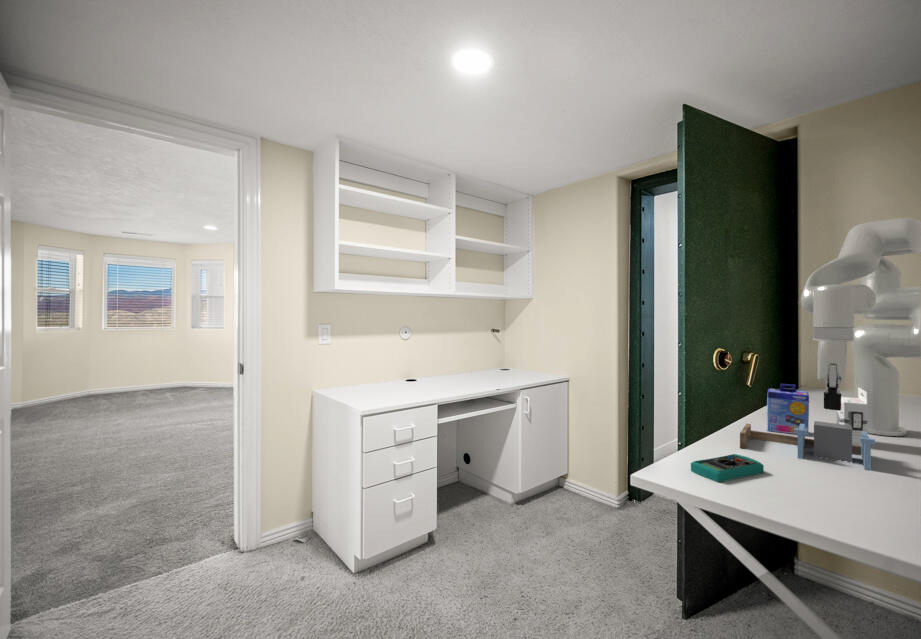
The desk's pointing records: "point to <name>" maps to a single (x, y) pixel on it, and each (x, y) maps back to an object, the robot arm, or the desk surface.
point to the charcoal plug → (833, 441)
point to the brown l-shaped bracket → (778, 439)
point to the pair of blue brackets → (864, 440)
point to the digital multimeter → (727, 467)
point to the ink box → (854, 415)
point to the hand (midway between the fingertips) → (832, 409)
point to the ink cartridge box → (787, 409)
